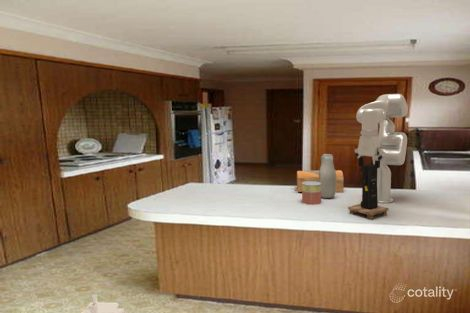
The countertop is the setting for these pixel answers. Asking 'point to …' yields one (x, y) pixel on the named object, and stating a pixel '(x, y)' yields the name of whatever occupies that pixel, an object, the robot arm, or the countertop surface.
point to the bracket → (102, 307)
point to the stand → (368, 210)
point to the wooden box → (314, 176)
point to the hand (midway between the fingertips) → (368, 166)
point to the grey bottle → (327, 176)
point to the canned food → (311, 192)
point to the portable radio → (369, 186)
